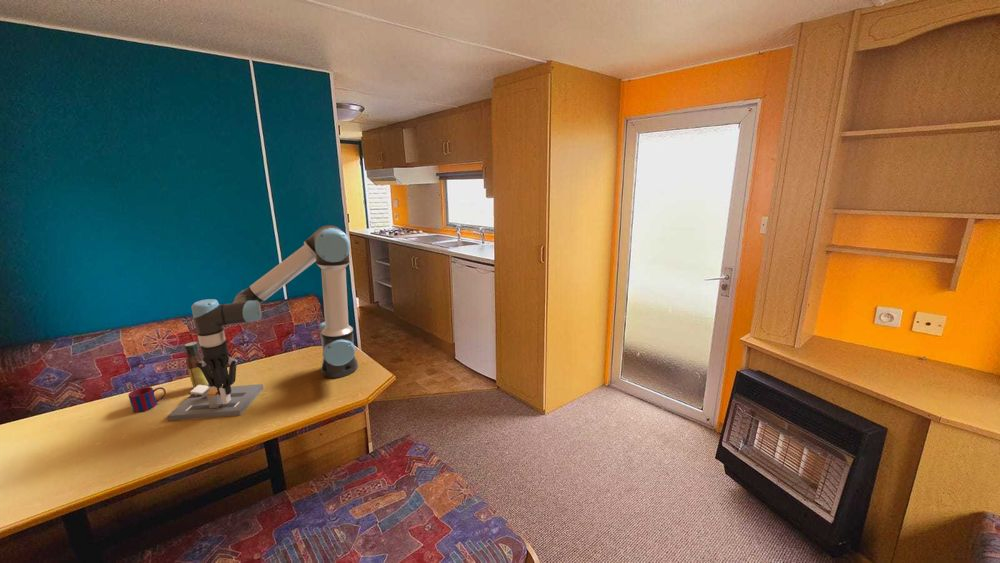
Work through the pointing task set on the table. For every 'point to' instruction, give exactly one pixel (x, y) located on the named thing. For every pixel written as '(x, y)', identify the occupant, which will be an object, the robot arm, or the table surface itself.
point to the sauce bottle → (195, 364)
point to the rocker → (199, 390)
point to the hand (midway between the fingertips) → (226, 401)
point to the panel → (200, 408)
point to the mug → (144, 399)
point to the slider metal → (214, 399)
